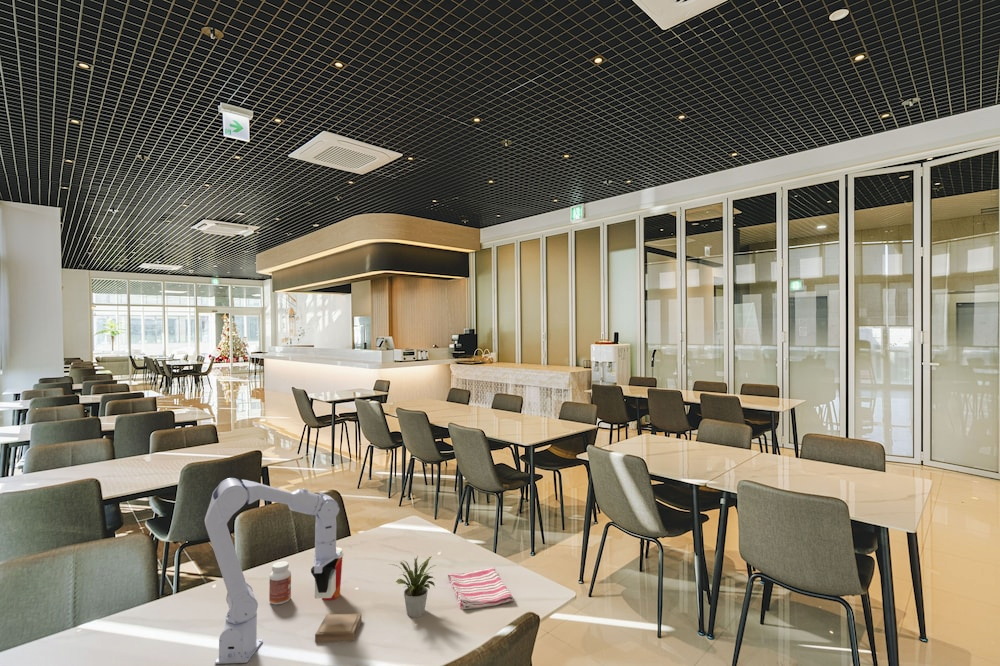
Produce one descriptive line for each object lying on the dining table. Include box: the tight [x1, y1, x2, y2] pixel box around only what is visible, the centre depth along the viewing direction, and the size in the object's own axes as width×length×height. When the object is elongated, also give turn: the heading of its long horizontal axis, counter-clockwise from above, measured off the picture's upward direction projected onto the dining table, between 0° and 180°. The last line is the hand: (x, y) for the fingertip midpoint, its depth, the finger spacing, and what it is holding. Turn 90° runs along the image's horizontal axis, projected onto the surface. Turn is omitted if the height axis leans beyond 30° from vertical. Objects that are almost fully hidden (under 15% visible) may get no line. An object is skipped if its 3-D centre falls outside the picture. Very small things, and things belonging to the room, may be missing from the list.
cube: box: [314, 569, 336, 599], centre depth 142 cm, size 5×5×6 cm
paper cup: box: [321, 546, 345, 601], centre depth 159 cm, size 8×8×14 cm
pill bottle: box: [268, 560, 292, 605], centre depth 156 cm, size 6×6×11 cm
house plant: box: [388, 555, 437, 618], centre depth 148 cm, size 14×14×16 cm
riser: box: [314, 613, 362, 643], centre depth 139 cm, size 10×10×2 cm
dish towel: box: [447, 567, 514, 610], centre depth 163 cm, size 17×23×4 cm
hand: (325, 587), depth 142 cm, fingers closed on cube, 4 cm apart
